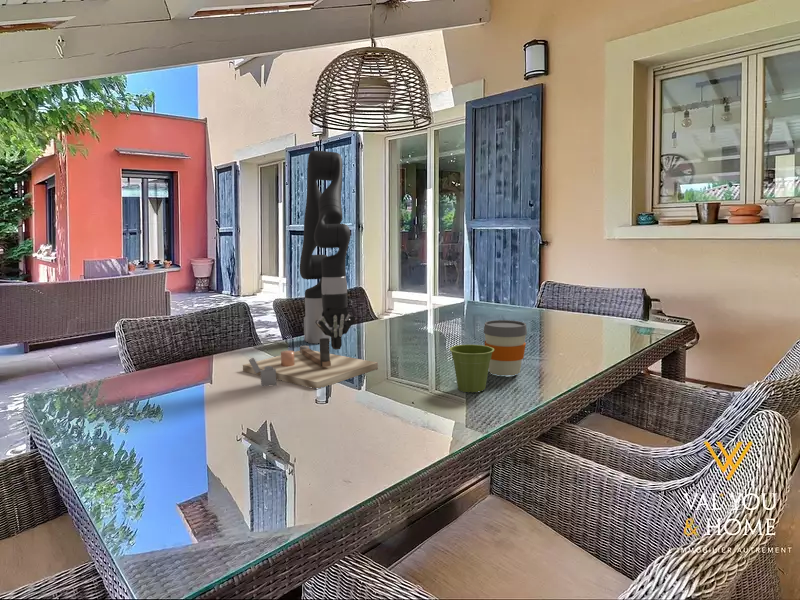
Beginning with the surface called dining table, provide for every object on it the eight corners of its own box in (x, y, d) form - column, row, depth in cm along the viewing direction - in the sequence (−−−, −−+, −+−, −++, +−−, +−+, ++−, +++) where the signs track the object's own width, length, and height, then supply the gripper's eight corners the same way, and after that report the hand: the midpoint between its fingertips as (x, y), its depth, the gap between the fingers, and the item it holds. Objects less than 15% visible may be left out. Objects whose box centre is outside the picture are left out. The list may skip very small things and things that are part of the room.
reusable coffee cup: (494, 365, 169) (495, 318, 167) (532, 371, 161) (533, 322, 159) (475, 374, 159) (476, 324, 157) (515, 381, 151) (516, 329, 149)
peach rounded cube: (278, 365, 163) (277, 352, 163) (288, 362, 167) (288, 349, 166) (287, 367, 161) (286, 354, 160) (297, 364, 164) (296, 351, 164)
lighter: (276, 383, 151) (275, 355, 150) (276, 385, 150) (275, 357, 149) (250, 385, 149) (248, 357, 148) (250, 387, 148) (248, 359, 147)
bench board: (242, 371, 164) (242, 364, 164) (305, 354, 185) (305, 349, 185) (317, 389, 145) (316, 382, 145) (377, 368, 166) (377, 362, 166)
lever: (298, 352, 177) (297, 328, 176) (307, 351, 178) (306, 327, 177) (322, 367, 158) (321, 340, 157) (331, 365, 159) (331, 339, 158)
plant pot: (500, 387, 146) (501, 346, 144) (482, 399, 136) (483, 355, 135) (461, 381, 152) (461, 342, 151) (441, 392, 142) (441, 350, 141)
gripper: (346, 288, 166) (348, 343, 168) (308, 292, 158) (310, 350, 160) (360, 290, 160) (361, 347, 163) (321, 294, 152) (323, 354, 154)
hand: (336, 348), depth 161 cm, fingers closed
